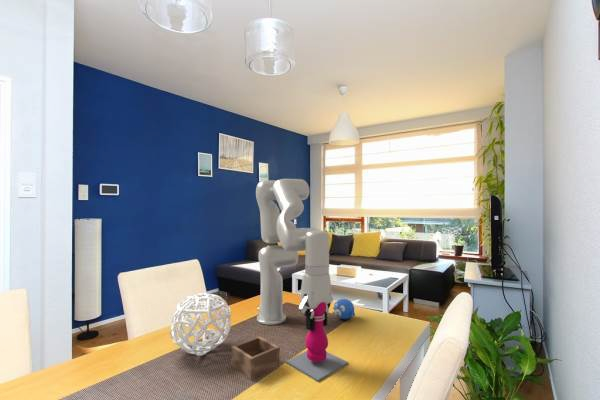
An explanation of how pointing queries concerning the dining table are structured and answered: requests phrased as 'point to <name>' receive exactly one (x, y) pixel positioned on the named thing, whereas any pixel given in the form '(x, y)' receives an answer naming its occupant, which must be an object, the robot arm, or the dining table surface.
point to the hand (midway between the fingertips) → (316, 326)
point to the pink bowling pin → (317, 336)
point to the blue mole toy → (344, 309)
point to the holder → (255, 357)
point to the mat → (317, 365)
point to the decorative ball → (192, 323)
